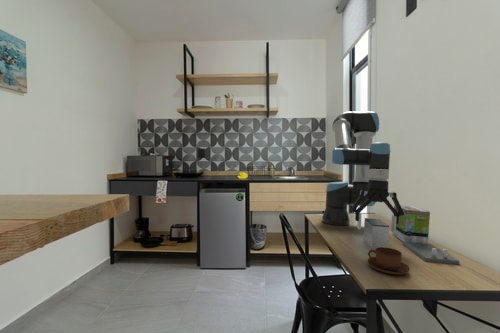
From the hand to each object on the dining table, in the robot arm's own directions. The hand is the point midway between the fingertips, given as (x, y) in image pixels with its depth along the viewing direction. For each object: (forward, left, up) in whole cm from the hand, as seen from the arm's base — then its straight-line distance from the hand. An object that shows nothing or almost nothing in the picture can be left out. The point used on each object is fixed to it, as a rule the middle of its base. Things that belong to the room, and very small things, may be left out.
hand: (376, 230), depth 108 cm
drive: (0, 0, -6) cm, 6 cm away
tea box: (-14, +19, -7) cm, 25 cm away
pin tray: (+5, +18, -6) cm, 20 cm away
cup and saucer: (+26, -4, -7) cm, 27 cm away
